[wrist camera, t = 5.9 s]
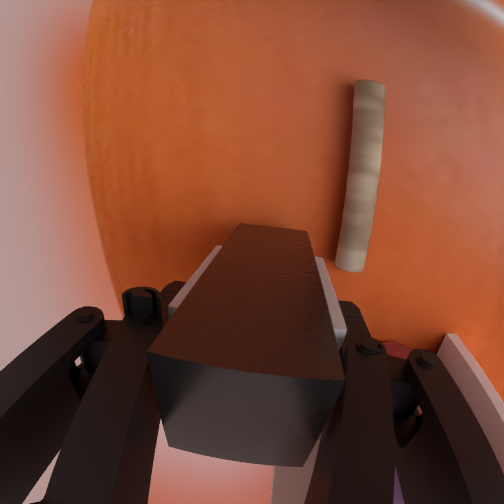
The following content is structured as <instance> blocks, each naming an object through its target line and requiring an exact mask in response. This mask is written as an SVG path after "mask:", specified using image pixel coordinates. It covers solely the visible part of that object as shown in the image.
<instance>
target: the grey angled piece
mask: <svg viewBox="0 0 504 504" xmlns="http://www.w3.org/2000/svg"><path fill="white" fill-rule="evenodd" d="M147 355H148V360H149V366H150V371H151V376H152V381H153V386H154V391H155V395H156V400H157V404H158V408H159V412H160V416H161V420H162V424H163V428H164V431H165V435H166V438H167V442H168V445H169V447H174V448H177V449H181V450H184V451H188V452H192V453H196V454H201V455H205V456H210V457H216V458H221V459H226V460H232V461H239V462H246V463H253V464H263V465H273V466H286V467H303V466H304V464H305V462H306V460H307V459H308V457H309V455H310V453H311V451H312V449H313V448H314V446H315V444H316V442H317V440H320V438H321V433H322V430H323V428H324V426H325V424H326V422H327V420H328V418H329V416H330V413H331V411H332V409H333V407H334V405H335V402H336V400H337V398H338V396H339V393H340V391H341V389H342V386H343V384H344V381H345V377H344V373H343V368H342V363H341V359H340V354H339V350H338V346H337V341H336V337H335V333H334V329H333V324H332V320H331V316H330V312H329V308H328V305H327V301H326V297H325V293H324V289H323V286H322V282H321V278H320V275H319V271H318V267H317V264H316V260H315V257H314V253H313V250H312V247H311V243H310V240H309V237H308V233H307V231H301V230H293V229H285V228H276V227H268V226H259V225H250V224H241V223H240V224H239V225H238V226H237V228H236V229H235V230H234V232H233V233H232V234H231V236H230V237H229V238H228V240H227V241H226V242H225V244H224V245H223V246H222V248H221V249H220V250H219V252H218V253H217V254H216V256H215V257H214V258H213V260H212V261H211V262H210V264H209V265H208V267H207V268H206V269H205V271H204V272H203V273H202V275H201V276H200V277H199V279H198V280H197V282H196V283H195V284H194V286H193V287H192V288H191V290H190V291H189V293H188V294H187V295H186V297H185V298H184V300H183V301H182V302H181V304H180V305H179V306H178V308H177V309H176V311H175V312H174V313H173V315H172V316H171V318H170V319H169V321H168V322H167V323H166V325H165V326H164V328H163V329H162V330H161V332H160V333H159V335H158V336H157V338H156V339H155V340H154V342H153V343H152V345H151V346H150V348H149V349H148V351H147Z"/></svg>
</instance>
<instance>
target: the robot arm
mask: <svg viewBox="0 0 504 504" xmlns="http://www.w3.org/2000/svg"><path fill="white" fill-rule="evenodd" d="M221 248H222V246H220V245H216V247H215V248H214V249H213V250H212V252H211V253H210V254H209V255H208V256H207V258H206V259H205V260H204V261H203V263H202V264H201V265H200V266H199V268H198V269H197V270H196V271H195V273H194V274H193V275H192V276H191V278H190V279H189V280H188V281H187V282H181V281H174V282H172V283H170V284H168V285H166V287H165V288H164V289H163V290H162V292H159V291H158V290H156V289H154V288H150V287H135V288H131V289H128V290H126V291H125V292H123V293H122V300H123V307H124V314H125V317H124V318H123V320H105V319H104V315H103V312H102V311H101V310H100V309H99V308H97V307H91V306H88V307H87V306H85V307H82V308H78V309H76V310H75V311H73V312H72V313H70V314H69V315H68V316H66V317H65V318H64V319H63V320H61V321H60V322H59V323H57V324H56V325H55V326H54V327H52V328H51V329H50V330H49V331H47V332H46V333H45V334H44V335H42V336H41V337H40V338H39V339H38V340H36V341H35V342H34V343H33V344H32V345H30V346H29V347H28V348H27V349H26V350H24V351H23V352H22V353H21V354H20V355H19V356H17V357H16V358H15V359H14V360H13V361H12V362H11V363H9V364H8V365H7V366H6V367H5V368H4V369H3V370H2V371H0V504H22V503H23V502H24V500H25V499H26V497H27V496H28V494H29V493H30V491H31V490H32V489H33V487H34V486H35V484H36V483H37V481H38V480H39V478H40V477H41V476H42V474H43V473H44V471H45V470H46V469H47V467H48V466H49V464H50V463H51V462H52V460H53V459H54V457H55V456H56V454H57V453H58V452H59V451H60V453H59V456H58V458H57V461H56V464H55V467H54V469H53V472H52V475H51V478H50V481H49V484H48V487H47V490H46V494H45V496H44V498H43V499H42V500H41V501H40V502H35V503H30V504H148V495H149V488H150V481H151V473H152V467H153V460H154V454H155V447H156V442H157V435H158V430H159V424H160V419H161V416H160V412H159V408H158V404H157V400H156V395H155V391H154V386H153V381H152V376H151V371H150V366H149V360H148V355H147V351H148V349H149V348H150V346H151V345H152V343H153V342H154V340H155V339H156V338H157V336H158V335H159V333H160V332H161V330H162V329H163V328H164V326H165V325H166V323H167V322H168V321H169V319H170V318H171V316H172V315H173V313H174V312H175V311H176V309H177V308H178V306H179V305H180V304H181V302H182V301H183V300H184V298H185V297H186V295H187V294H188V293H189V291H190V290H191V288H192V287H193V286H194V284H195V283H196V282H197V280H198V279H199V277H200V276H201V275H202V273H203V272H204V271H205V269H206V268H207V267H208V265H209V264H210V262H211V261H212V260H213V258H214V257H215V256H216V254H217V253H218V252H219V250H220V249H221ZM315 260H316V264H317V267H318V271H319V275H320V278H321V282H322V286H323V289H324V293H325V297H326V301H327V305H328V308H329V312H330V316H331V320H332V324H333V329H334V333H335V337H336V341H337V346H338V350H339V354H340V359H341V363H342V368H343V373H344V377H345V381H344V384H343V386H342V389H341V391H340V393H339V396H338V398H337V400H336V402H335V405H334V407H333V409H332V411H331V413H330V416H329V418H328V420H327V422H326V424H325V426H324V428H323V430H322V433H321V438H320V443H319V447H318V452H317V456H316V461H315V465H314V469H313V473H312V477H311V481H310V484H309V488H308V492H307V495H306V499H305V502H304V504H393V499H394V479H395V467H396V471H397V475H398V479H399V483H400V487H401V491H402V495H403V500H404V504H504V473H503V471H502V469H501V466H500V464H499V462H498V460H497V458H496V455H495V453H494V451H493V449H492V447H491V445H490V443H489V441H488V439H487V437H486V435H485V433H484V431H483V429H482V427H481V426H480V424H479V422H478V420H477V418H476V416H475V415H474V413H473V411H472V409H471V408H470V406H469V404H468V402H467V401H466V399H465V397H464V396H463V394H462V392H461V391H460V389H459V387H458V386H457V384H456V383H455V381H454V379H453V378H452V376H451V375H450V373H449V372H448V370H447V368H446V367H445V365H444V364H443V362H442V361H441V359H440V358H439V357H438V356H437V355H436V354H434V353H432V352H431V351H429V350H425V349H415V350H412V351H411V352H410V353H409V355H408V357H407V359H403V358H399V357H395V356H391V355H388V354H387V351H386V348H385V346H384V345H383V344H382V343H381V342H380V341H378V340H376V339H374V338H371V336H370V333H369V331H368V328H367V326H366V324H365V322H364V319H363V317H362V314H361V312H360V310H359V308H358V307H357V306H356V305H355V304H354V303H353V302H349V301H339V300H337V297H336V294H335V291H334V288H333V285H332V282H331V279H330V276H329V274H328V271H327V268H326V265H325V262H324V260H323V258H321V257H315ZM79 356H80V359H81V362H82V363H81V364H80V365H78V366H76V364H75V360H76V359H77V358H78V357H79ZM419 406H420V409H421V411H422V414H420V413H419V411H418V407H419ZM60 449H61V450H60Z"/></svg>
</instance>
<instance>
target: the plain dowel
mask: <svg viewBox="0 0 504 504" xmlns="http://www.w3.org/2000/svg"><path fill="white" fill-rule="evenodd" d="M384 109H385V86H384V85H383V84H381V83H379V82H375V81H371V80H357V81H355V82H354V102H353V121H352V136H351V148H350V159H349V169H348V178H347V186H346V194H345V202H344V209H343V216H342V223H341V229H340V236H339V242H338V248H337V253H336V259H335V266H336V267H337V268H339V269H341V270H344V271H348V272H361V271H363V269H364V265H365V260H366V255H367V250H368V245H369V240H370V235H371V229H372V224H373V218H374V211H375V205H376V198H377V191H378V183H379V175H380V166H381V156H382V144H383V130H384Z"/></svg>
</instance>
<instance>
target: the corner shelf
mask: <svg viewBox="0 0 504 504" xmlns="http://www.w3.org/2000/svg"><path fill="white" fill-rule="evenodd" d="M436 355H437V356H438V357H439V358H440V359H441V361H442V362H443V364H444V365H445V367H446V368H447V370H448V372H449V373H450V375H451V376H452V378H453V379H454V381H455V383H456V384H457V386H458V387H459V389H460V391H461V392H462V394H463V396H464V397H465V399H466V401H467V402H468V404H469V406H470V408H471V409H472V411H473V413H474V415H475V416H476V418H477V420H478V422H479V424H480V426H481V427H482V429H483V431H484V433H485V435H486V437H487V439H488V441H489V443H490V445H491V447H492V449H493V451H494V453H495V455H496V458H497V460H498V462H499V464H500V466H501V469H502V471H503V473H504V402H503V401H502V399H501V397H500V396H499V394H498V393H497V391H496V389H495V388H494V386H493V385H492V383H491V382H490V380H489V379H488V377H487V376H486V374H485V373H484V371H483V370H482V368H481V367H480V366H479V364H478V363H477V361H476V360H475V359H474V357H473V356H472V354H471V353H470V352H469V350H468V349H467V348H466V346H465V345H464V344H463V342H462V341H461V340H460V338H459V337H458V336H457V334H456V333H446V335H445V337H444V340H443V342H442V344H441V346H440V348H439V350H438V352H437V354H436ZM319 443H320V440H317V442H316V444H315V446H314V448H313V449H312V451H311V453H310V455H309V457H308V459H307V460H306V462H305V464H304V466H303V467H286V466H274V469H273V478H272V487H271V496H270V504H304V502H305V499H306V495H307V492H308V488H309V484H310V481H311V477H312V473H313V469H314V465H315V461H316V456H317V452H318V447H319Z"/></svg>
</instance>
